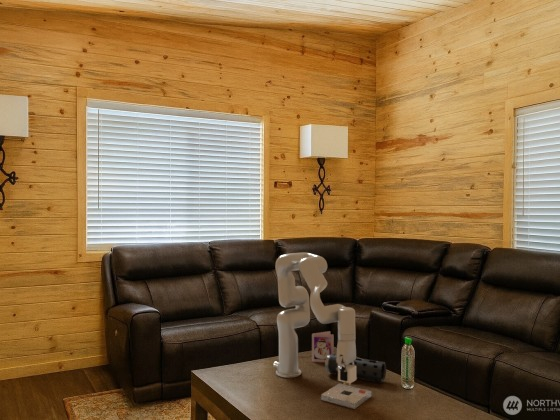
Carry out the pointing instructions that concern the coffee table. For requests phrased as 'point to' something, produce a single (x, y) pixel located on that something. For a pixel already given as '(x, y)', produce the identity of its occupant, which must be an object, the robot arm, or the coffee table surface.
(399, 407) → the coffee table surface
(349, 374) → the plug
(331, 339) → the greeting card
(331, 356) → the muzzle brake
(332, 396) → the socket
